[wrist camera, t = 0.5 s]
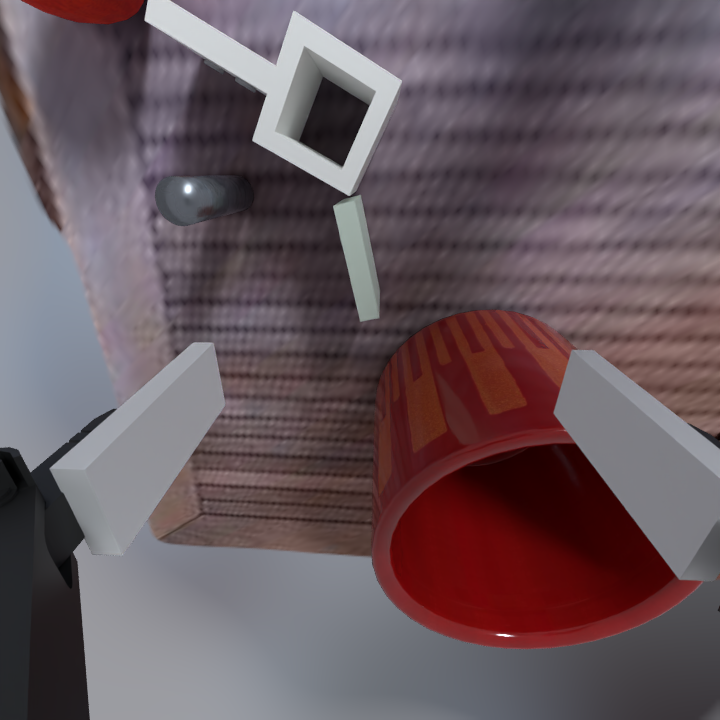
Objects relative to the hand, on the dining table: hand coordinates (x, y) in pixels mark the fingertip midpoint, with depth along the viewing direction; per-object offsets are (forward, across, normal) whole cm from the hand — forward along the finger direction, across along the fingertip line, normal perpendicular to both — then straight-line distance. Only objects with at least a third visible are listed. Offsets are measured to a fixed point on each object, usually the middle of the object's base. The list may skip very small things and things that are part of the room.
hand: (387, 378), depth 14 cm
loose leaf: (+24, -2, +1) cm, 24 cm away
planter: (+25, +11, -16) cm, 32 cm away
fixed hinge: (+24, -8, +13) cm, 28 cm away
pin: (+24, -14, +6) cm, 28 cm away
